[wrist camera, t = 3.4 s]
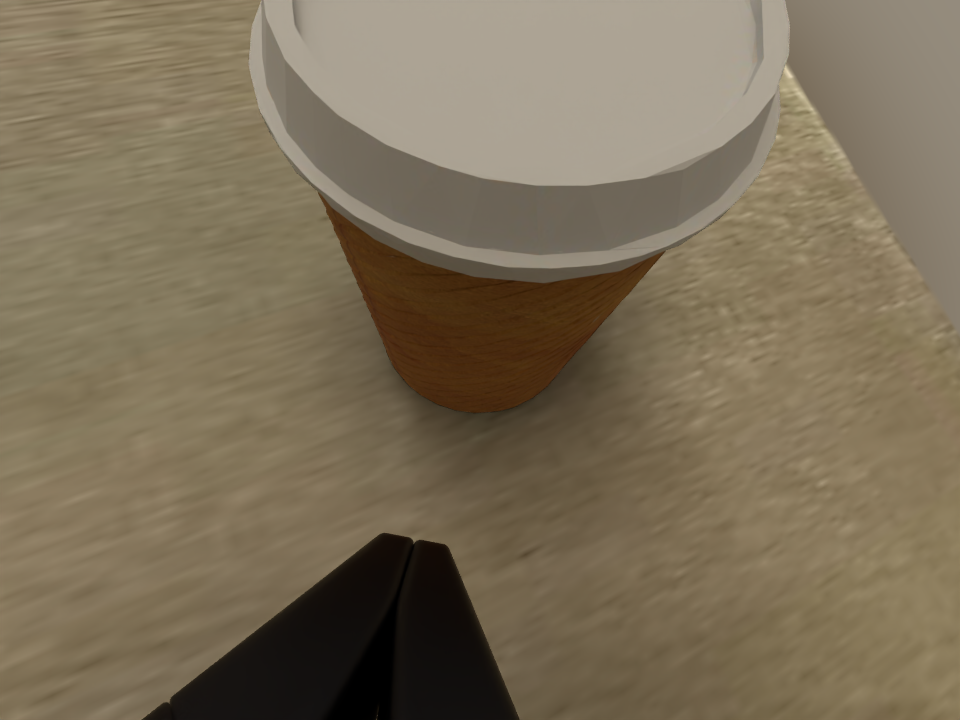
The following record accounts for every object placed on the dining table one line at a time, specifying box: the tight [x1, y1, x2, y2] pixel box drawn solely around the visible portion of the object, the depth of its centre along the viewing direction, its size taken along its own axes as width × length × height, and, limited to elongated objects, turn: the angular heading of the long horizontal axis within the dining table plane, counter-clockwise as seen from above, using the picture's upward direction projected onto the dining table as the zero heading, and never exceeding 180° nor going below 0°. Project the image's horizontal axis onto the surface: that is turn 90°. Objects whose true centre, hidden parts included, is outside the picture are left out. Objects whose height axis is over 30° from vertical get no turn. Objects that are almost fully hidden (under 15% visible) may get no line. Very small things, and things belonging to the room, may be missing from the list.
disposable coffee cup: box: [249, 0, 790, 413], centre depth 16 cm, size 10×10×12 cm
